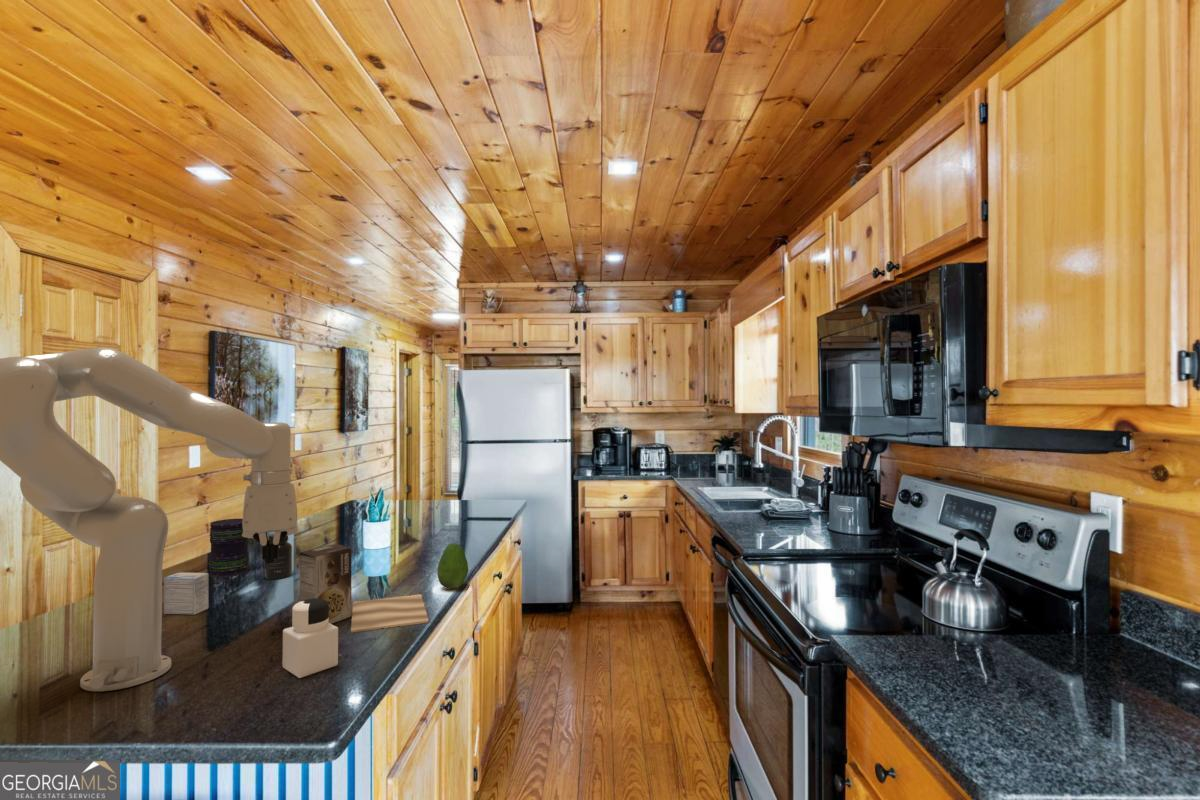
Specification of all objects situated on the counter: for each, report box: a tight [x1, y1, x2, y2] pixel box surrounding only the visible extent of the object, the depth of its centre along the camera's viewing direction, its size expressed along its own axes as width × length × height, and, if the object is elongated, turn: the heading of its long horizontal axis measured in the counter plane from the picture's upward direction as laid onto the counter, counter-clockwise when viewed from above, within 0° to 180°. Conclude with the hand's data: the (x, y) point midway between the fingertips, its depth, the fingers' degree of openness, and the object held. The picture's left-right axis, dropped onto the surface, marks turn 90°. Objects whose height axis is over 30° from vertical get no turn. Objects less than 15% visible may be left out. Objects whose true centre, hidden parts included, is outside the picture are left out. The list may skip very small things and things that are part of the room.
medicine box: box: [163, 572, 210, 616], centre depth 137 cm, size 8×4×9 cm, turn 84°
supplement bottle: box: [264, 533, 293, 580], centre depth 166 cm, size 7×7×12 cm
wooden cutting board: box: [350, 593, 429, 633], centre depth 136 cm, size 20×16×1 cm
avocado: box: [436, 542, 469, 590], centre depth 155 cm, size 8×8×12 cm
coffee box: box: [299, 543, 353, 625], centre depth 131 cm, size 9×6×16 cm
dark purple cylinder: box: [208, 518, 250, 578], centre depth 170 cm, size 10×10×15 cm
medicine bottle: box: [282, 598, 339, 679], centre depth 107 cm, size 7×7×12 cm
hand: (270, 562), depth 127 cm, fingers closed
